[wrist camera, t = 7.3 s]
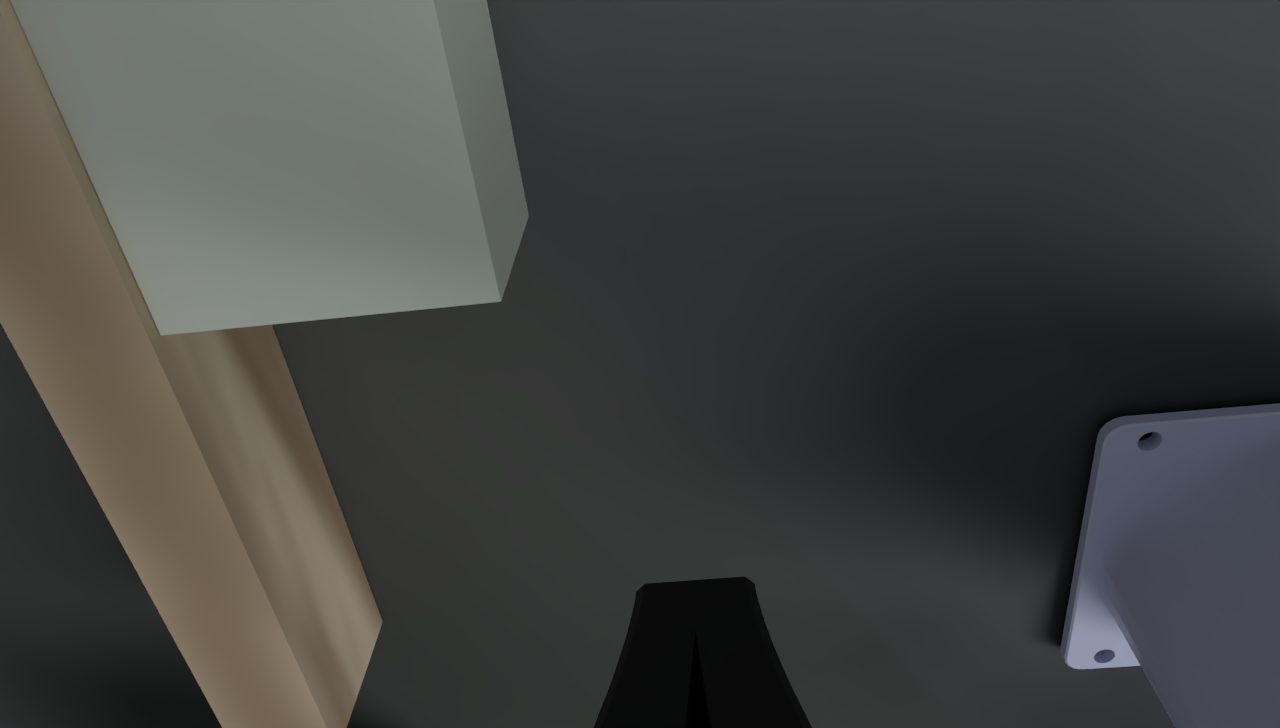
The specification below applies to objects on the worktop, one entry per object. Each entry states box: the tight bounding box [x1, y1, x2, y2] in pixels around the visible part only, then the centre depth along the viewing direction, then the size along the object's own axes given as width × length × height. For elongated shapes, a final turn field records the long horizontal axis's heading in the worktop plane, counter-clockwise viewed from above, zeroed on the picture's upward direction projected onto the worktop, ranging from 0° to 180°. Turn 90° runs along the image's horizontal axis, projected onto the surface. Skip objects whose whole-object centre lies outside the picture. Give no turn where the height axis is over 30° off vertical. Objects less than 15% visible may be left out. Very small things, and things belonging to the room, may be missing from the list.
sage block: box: [10, 0, 529, 335], centre depth 15 cm, size 6×8×4 cm
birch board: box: [0, 0, 383, 728], centre depth 17 cm, size 2×22×4 cm, turn 7°
